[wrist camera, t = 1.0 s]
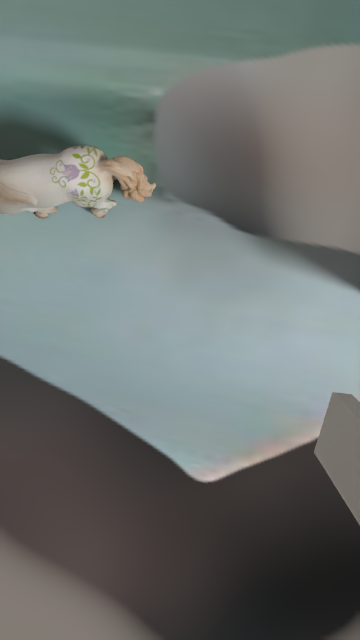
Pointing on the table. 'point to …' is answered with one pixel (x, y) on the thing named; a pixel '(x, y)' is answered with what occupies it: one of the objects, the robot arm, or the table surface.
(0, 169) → the unicorn figurine
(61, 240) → the table surface
